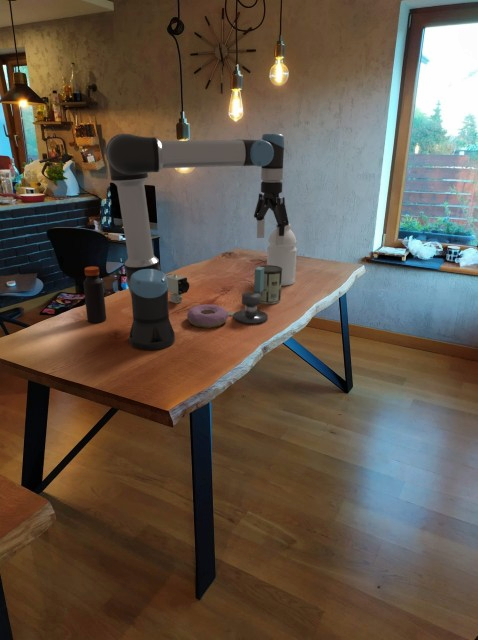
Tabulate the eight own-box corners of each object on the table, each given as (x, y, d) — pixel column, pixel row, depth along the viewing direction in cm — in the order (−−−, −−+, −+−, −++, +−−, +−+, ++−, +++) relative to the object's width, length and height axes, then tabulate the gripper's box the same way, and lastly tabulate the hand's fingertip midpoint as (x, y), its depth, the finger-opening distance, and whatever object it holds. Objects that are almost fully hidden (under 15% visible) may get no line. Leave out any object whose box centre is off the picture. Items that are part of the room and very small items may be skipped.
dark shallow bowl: (260, 326, 166) (261, 311, 164) (219, 319, 172) (219, 304, 170) (272, 315, 177) (272, 300, 175) (233, 308, 183) (233, 294, 181)
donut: (187, 315, 177) (186, 303, 175) (225, 314, 179) (226, 302, 177) (187, 330, 162) (187, 317, 161) (230, 329, 164) (230, 316, 162)
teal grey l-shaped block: (256, 307, 168) (257, 277, 163) (238, 304, 170) (239, 274, 166) (268, 296, 179) (270, 268, 175) (252, 293, 182) (253, 266, 177)
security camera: (182, 306, 185) (181, 278, 180) (162, 300, 191) (160, 272, 187) (191, 303, 189) (191, 275, 185) (171, 297, 196) (170, 270, 191)
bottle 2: (265, 277, 226) (268, 220, 216) (293, 278, 226) (297, 221, 216) (266, 285, 213) (268, 225, 203) (295, 286, 213) (300, 226, 203)
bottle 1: (86, 324, 166) (80, 271, 158) (88, 317, 172) (82, 266, 165) (105, 323, 167) (100, 270, 160) (107, 316, 173) (102, 265, 166)
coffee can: (266, 294, 201) (268, 263, 196) (285, 300, 194) (287, 268, 189) (251, 300, 194) (252, 268, 189) (270, 306, 187) (271, 273, 182)
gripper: (301, 183, 151) (297, 246, 159) (263, 178, 171) (261, 234, 179) (281, 184, 147) (279, 249, 155) (245, 178, 168) (244, 235, 176)
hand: (269, 241), depth 167 cm, fingers open, 13 cm apart
